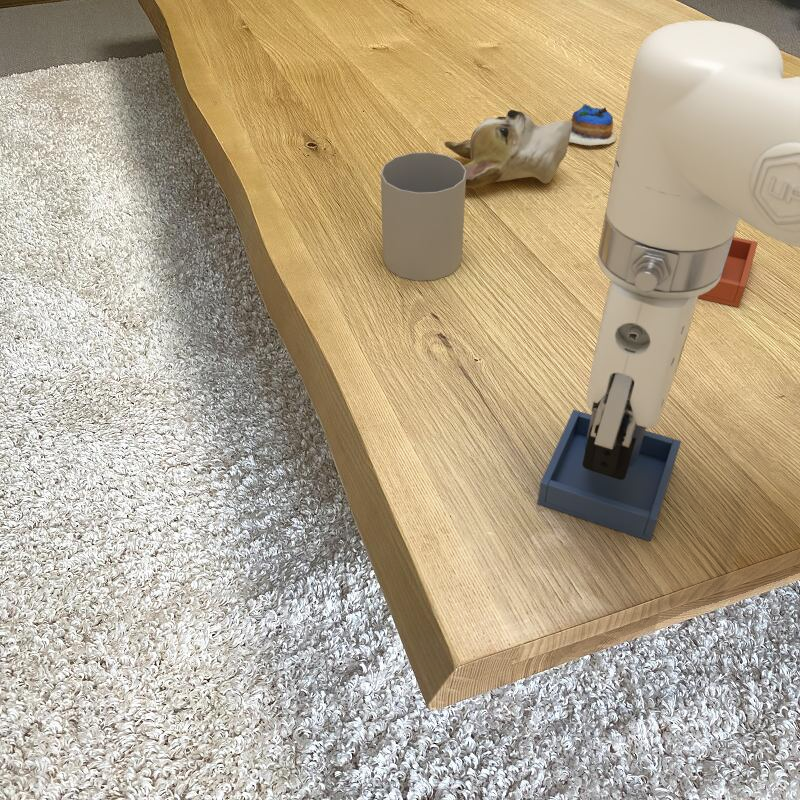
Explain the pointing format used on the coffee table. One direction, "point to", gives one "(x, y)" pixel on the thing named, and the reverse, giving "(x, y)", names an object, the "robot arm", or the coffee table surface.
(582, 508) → the blue tray
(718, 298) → the terracotta tray
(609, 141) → the dessert
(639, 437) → the blue peg
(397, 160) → the cup
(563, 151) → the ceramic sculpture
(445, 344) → the coffee table surface
